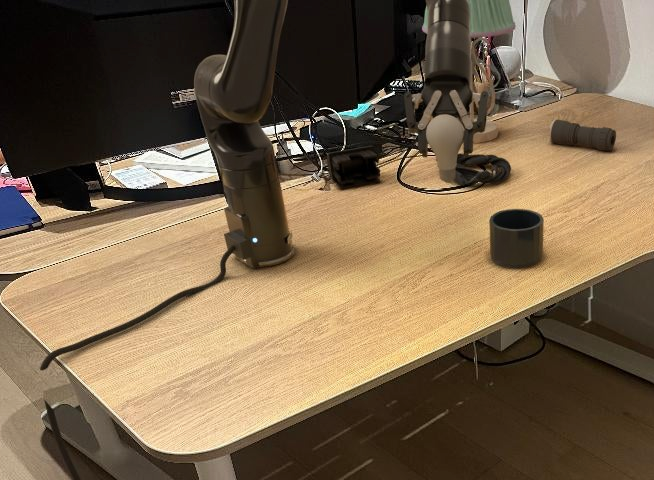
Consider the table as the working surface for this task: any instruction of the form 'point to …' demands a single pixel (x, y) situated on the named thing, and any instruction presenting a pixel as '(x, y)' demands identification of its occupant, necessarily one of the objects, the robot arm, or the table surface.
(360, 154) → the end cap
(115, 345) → the table surface
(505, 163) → the cable
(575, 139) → the flashlight
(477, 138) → the table lamp
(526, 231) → the pot
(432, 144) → the lightbulb
